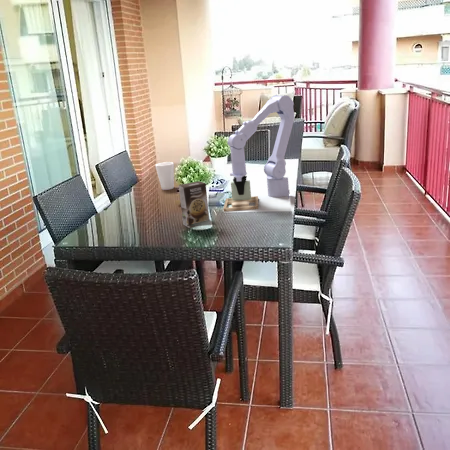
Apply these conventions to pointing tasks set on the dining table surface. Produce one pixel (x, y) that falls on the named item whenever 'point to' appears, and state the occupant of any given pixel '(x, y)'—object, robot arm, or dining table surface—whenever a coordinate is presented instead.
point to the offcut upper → (240, 204)
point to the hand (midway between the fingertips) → (241, 193)
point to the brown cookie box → (194, 203)
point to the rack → (230, 200)
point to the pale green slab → (246, 192)
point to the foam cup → (166, 175)
